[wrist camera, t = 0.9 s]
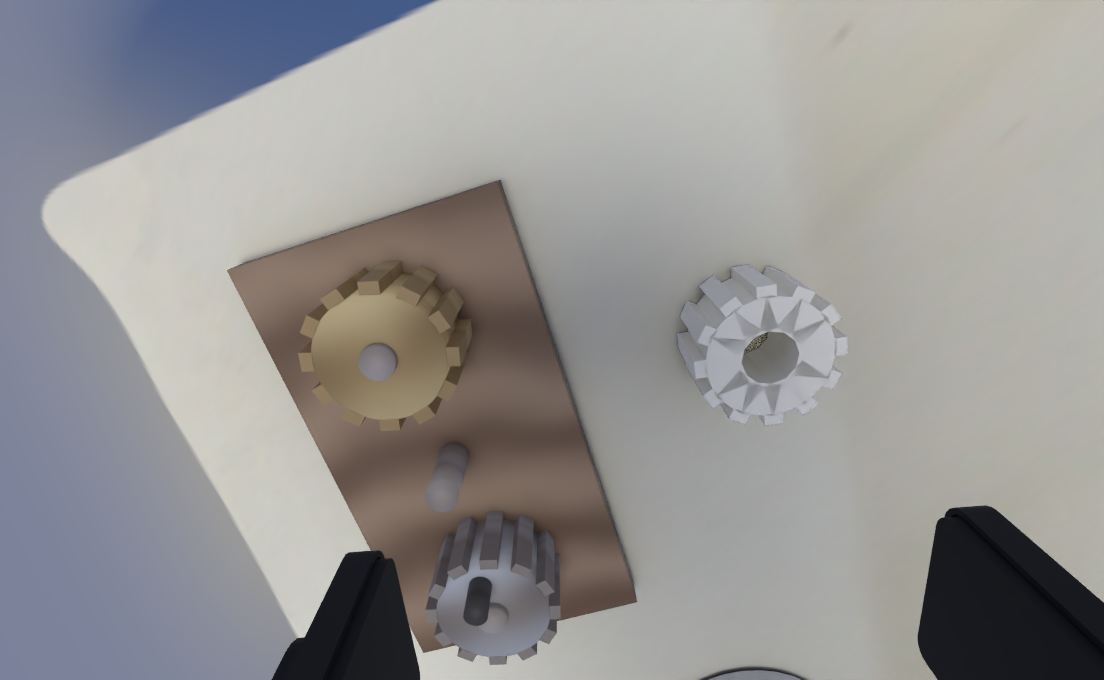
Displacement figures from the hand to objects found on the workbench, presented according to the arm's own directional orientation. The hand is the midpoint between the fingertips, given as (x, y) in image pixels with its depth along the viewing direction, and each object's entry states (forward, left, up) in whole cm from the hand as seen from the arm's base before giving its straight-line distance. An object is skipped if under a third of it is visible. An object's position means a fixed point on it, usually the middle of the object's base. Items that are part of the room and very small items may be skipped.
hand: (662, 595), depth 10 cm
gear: (-2, -9, -21) cm, 23 cm away
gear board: (-10, +6, -21) cm, 24 cm away
